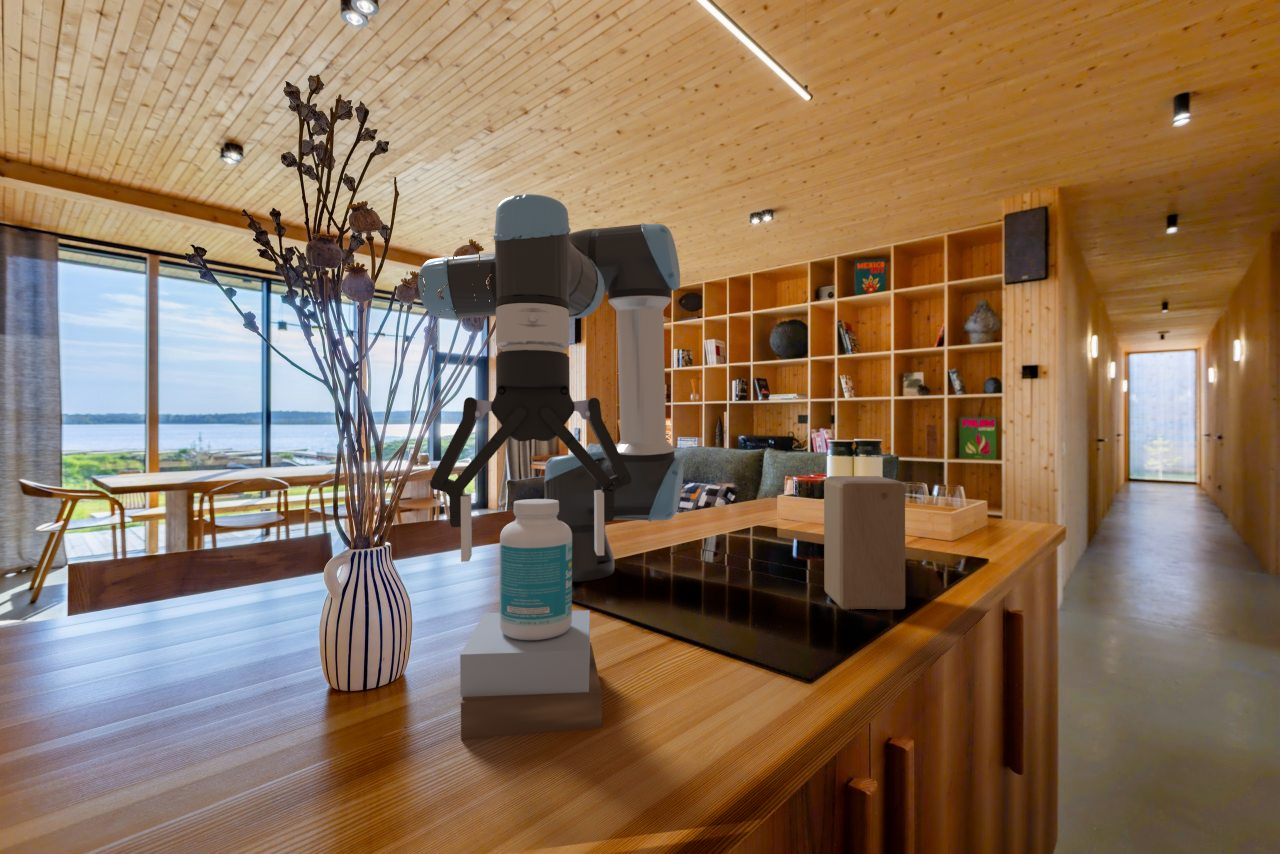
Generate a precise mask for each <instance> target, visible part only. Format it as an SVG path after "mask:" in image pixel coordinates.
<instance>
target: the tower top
mask: <svg viewBox="0 0 1280 854" xmlns="http://www.w3.org/2000/svg"><path fill="white" fill-rule="evenodd" d="M590 611H591V610H586V609H585V610H572V623H571V626H570V628H569V629H568V630H567V631H566V632H565V633H563V634H561V635H559V636H556V637H553V638H548V639H542V640H519V639H514V638H511V637H508V636H507V635H505V634H504V633H503V632H502V631H501V629H500V612H483V615H482V616H481V618H480V620H479V621H478V623H477V625H476V627H475V628H474V630H473V632H472V634H471V636H470V637H469V639H468V640H467V642H466V644H465V645H464V647H463V650H462V651H461V653H460V654H459V655H460V656H459V658H460V660H459V661H460V669H459V671H460V673H459V674H460V675H459V676H460V679H459V681H460V682H459V683H460V688H459V690H460V691H459V692H460V698H462V697H476V696H502V695H528V694H555V693H581V692H589V665H590V642H591V622H590V621H591V612H590Z"/></svg>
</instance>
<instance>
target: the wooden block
mask: <svg viewBox="0 0 1280 854" xmlns="http://www.w3.org/2000/svg"><path fill="white" fill-rule="evenodd" d="M823 484H824V485H823V491H824V492H823V493H824V494H823V497H824V498H823V501H824V502H823V504H824V505H823V509H824V510H823V518H824V519H823V520H824V521H823V523H824V524H823V525H824V526H823V531H824V532H823V535H824V536H823V538H824V539H823V542H824V544H823V545H824V548H823V551H824V552H823V553H824V555H823V558H824V559H823V561H824V562H823V563H824V564H823V565H824V571H823V573H824V574H823V575H824V578H823V579H824V581H823V582H824V583H823V584H824V585H823V586H824V587H823V588H824V592H825V593H826V594H827V596H829V597H830V599H832V600H833V602H834V603H836V604H837V606H838V607H840V609H843V610H847V611H849V609H851V611H852V609H853V611H854V609H877V610H905V609H906V608H905V607H906V487H905V483H904V482H902V481H899V480H895V479H892V478H888V477H882V476H878V475H874V476H872V475H869V476H866V475H863V476H862V475H861V476H860V475H857V476H856V475H853V476H851V475H849V476H848V475H845V476H844V475H843V476H842V475H841V476H838V475H837V476H835V475H834V476H833V475H830V476H827V477H826V478H825V479H824V481H823Z"/></svg>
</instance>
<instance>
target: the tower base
mask: <svg viewBox="0 0 1280 854" xmlns="http://www.w3.org/2000/svg"><path fill="white" fill-rule="evenodd" d="M602 690H603V689H602V686H601V681H600V678H599V673H598V668H597V663H596V658H595V655H594V651H593V645H592V642H591V641H590V665H589V692H581V693H555V694H528V695H502V696H476V697H461V701H460V741H467V740H478V739H488V738H501V737H511V736H521V735H533V734H544V733H545V734H546V733H555V732H556V733H557V732H567V731H577V730H587V729H588V730H589V729H590V730H591V729H600V728H603V691H602Z"/></svg>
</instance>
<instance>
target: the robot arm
mask: <svg viewBox="0 0 1280 854" xmlns="http://www.w3.org/2000/svg"><path fill="white" fill-rule="evenodd" d="M494 228H495V229H494V234H493V241H494V246H495V247H494V248H495V249H494V251H493V252H492V251H491V252H483V253H477V254H476V253H475V254H469V255H468V254H467V255H459V256H457V257H456V256H449V255H447V256H444V257H438V258H431V259H428V260H426V261H425V262H424V263H423V265H421V268H420V269H419V273H418V279H417V284H418V285H417V286H418V290H419V297H420V300H421V302H422V304H423V306H424V308H425V309H426V311H427V312H428V313H429V314H431V316H433V317H435V318H437V319H455V320H459V319H464V318H465V319H467V318H479V317H480V318H481V317H482V318H483V317H495V345H496V346H497V348H499V349H501V351H500V352H498V353H497V355H496V356H495V395H494V396H495V397H494V399H493V400H492V401H491V400H484V399H483V400H482V399H476V398H474V397H470V396H469V397H467V398H466V399H465V400H464V402H463V408H462V415H461V416H462V419H461V421H460V423H459V425H458V426H457V429H456V430H455V432H454V434H453V437H452V438H451V440H450V443H449V444H448V446H447V448H446V450H445V451H444V454H443V456H442V457H441V460H440V462H439V463H438V466H437V467H436V470H435V471H434V474H433V476H432V478H431V479H430V481H429V486H430V488H431V489H432V490H435V491H441V492H444V493H446V495H448V499H449V524H450V527H451V528H460V556H461V557H460V562H461V563H462V562H463V563H465V562H466V563H467V562H470V560H471V557H472V553H473V551H472V550H473V548H472V543H473V542H472V541H473V540H472V532H473V531H472V493H464V490H466V488H467V486H468V485H469V484H470V483H471V482H472V480H473V479H474V478H475V477H476V476H477V475H478V474H479V472H480V471H481V470H482V469H483V468H484V466H486V464H487V463H489V461H490V460H491V459H492V458H493V456H494V455H495V454H496V453H497V452H498V451H499V449H500V448H501V447H502V445H504V444H505V442H506V441H507V440H508V439H509V437H510V438H511V439H513V440H515V441H518V442H528V441H531V440H536V441H540V442H549V441H552V440H553V439H555V438H556V437H557V438H558V439H559V440H560V441H561V442H562V443H563V444H564V445H565V447H566V448H567V449H568V450H569V451H570V453H572V454H565V455H559V456H558V455H557V456H552V457H550V458H549V459H548V460H547V461H546V462H545V464H544V465H545V468H544V480H543V484H544V485H543V486H544V499H552V500H558V501H559V512H558V515H557V519H558V520H559V521H562V522H564V523H565V524H567V525H568V526H569V527H570V529H571V532H572V583H575V582H587V581H588V582H589V581H595V580H599V579H603V578H606V577H610V576H611V575H613V574H614V573H615V557H614V554H613V551H612V548H611V545H610V543H609V539H608V537H607V533H606V522H609V523H610V522H613V521H614V520H622V521H623V520H624V521H625V520H626V521H627V520H628V521H648V522H649V523H650V522H653V521H654V522H656V521H668V520H669V521H670V520H671V519H672V518H674V516H675V515H676V514H677V512H678V508H679V505H680V501H681V497H682V496H681V495H682V491H683V483H684V472H685V471H684V461H683V460H682V459H681V458H679V457H675V446H673V445H672V444H671V443H670V442H669V441H668V440H667V439H668V438H667V424H666V422H667V420H666V419H667V417H666V375H665V374H666V373H665V372H666V370H665V366H666V365H665V329H664V328H665V325H664V323H665V321H664V314H665V313H664V310H665V308H667V307H668V305H670V303H671V302H672V292H673V291H676V290H678V289H679V288H680V286H681V273H680V263H679V258H678V257H679V256H678V252H677V248H676V247H677V246H676V244H675V240H674V236H673V234H672V232H671V230H670V229H669V227H668V226H666V225H664V224H662V223H656V224H655V223H652V224H651V223H648V224H645V223H641V224H632V225H621V226H620V225H619V226H610V227H609V226H608V227H599V228H589V229H588V228H586V229H581V230H577V231H575V232H571V231H572V229H571V228H570V223H569V212H568V209H567V208H566V206H565V204H563V202H561V201H559V199H558V200H557V199H556V198H553V197H550V196H546V195H542V194H541V195H540V194H530V193H529V194H528V193H527V194H525V193H524V194H518V195H512V196H509V197H507V198H506V197H505V198H504V199H503V200H502V201H500V203H499V204H498V205H497V208H496V210H495V226H494ZM479 254H480V263H479ZM453 257H454V263H453ZM478 264H479V266H478ZM490 274H492V275H491V276H490V277H489V275H490ZM419 275H422V276H423V277H424V281H425V290H424V282H423V277H422V276H419ZM488 277H489V280H490V282H489V280H488V281H487V282H489V284H488V286H489V289H488V288H487V284H486V280H487V278H488ZM420 278H421V279H420ZM448 283H449V284H448ZM447 284H448V285H447ZM472 284H473V285H472ZM445 285H447V286H446V287H445V288H443V287H444V286H445ZM441 288H443V289H442V290H444V291H443V292H442V293H441V296H443V297H444V300H443V299H442V300H441V298H440V299H439V300H438V296H439V295H440V292H441V291H442V290H440V292H439V294H438V296H437V292H438V290H439V289H441ZM423 290H424V295H423ZM474 294H475V296H474ZM605 294H607V301H608V302H607V303H609V305H610V306H611V307H612V308H613V309H615V312H616V325H617V326H616V327H617V328H616V329H617V330H616V331H617V363H618V364H617V365H618V366H617V367H618V370H617V371H618V400H619V402H618V403H619V434H620V435H619V438H620V440H619V442H618V443H617V444H615V442H614V440H613V438H612V436H611V434H610V433H609V430H608V428H607V426H606V424H605V422H604V420H603V418H602V409H601V402H600V400H599V399H598V398H597V397H591V398H589V399H585V400H576V401H574V400H573V398H572V397H571V391H570V389H571V388H570V384H571V381H570V377H571V375H570V357H569V356H568V354H567V353H566V352H564V351H566V350H567V349H569V347H570V318H572V319H582V318H585V317H588V316H590V315H592V313H594V312H595V311H596V310H597V309H598V308H599V307H600V305H601V304H602V301H603V299H604V296H605ZM475 299H476V301H475ZM489 300H490V302H489ZM446 309H450V310H446ZM452 309H453V310H452ZM441 310H443V311H442V312H440V311H441ZM455 310H456V311H455ZM439 314H440V317H439ZM484 315H485V316H484ZM438 317H439V318H438ZM488 412H491V413H492V414H493V416H494V417H495V418H496V419H497V421H498V423H500V425H501V426H500V427H499V428H498V429H497V431H495V433H494V434H493V435H492V437H491V438H490V439H489V440H488V441H487V442H486V444H485V445H484V446H483V448H481V449H480V451H479V452H478V453H477V454H476V455H475V456H474V457H473V459H472V460H471V461H470V462H469V463H468V464H467V466H466V467H465V468H464V469H463V471H462V472H461V473H460V474H459V475H458V476H457V478H456V479H455V480H453V479H451V478H449V477H450V476H451V473H452V472H453V470H454V467H455V466H456V464H457V462H458V460H459V458H460V455H461V454H462V452H463V450H464V448H465V446H466V444H467V442H468V441H469V439H470V436H471V435H472V432H473V430H474V429H475V425H476V423H477V421H481V420H483V419H484V418H485V415H486V414H487V413H488ZM574 412H578V413H579V415H580V417H581V419H582V420H585V421H588V423H589V425H590V429H591V431H592V433H593V434H594V436H595V438H596V440H597V442H598V444H599V445H600V448H601V450H595V451H589V452H588V451H587V449H585V447H584V446H583V445H582V444H581V443H580V442H579V440H578V439H577V438H576V437H575V436H574V435H573V433H572V432H571V431H570V430H569V429H568V427H567V426H566V424H567V423H568V421H569V420H570V418H571V417H572V415H573V414H574Z"/></svg>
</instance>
